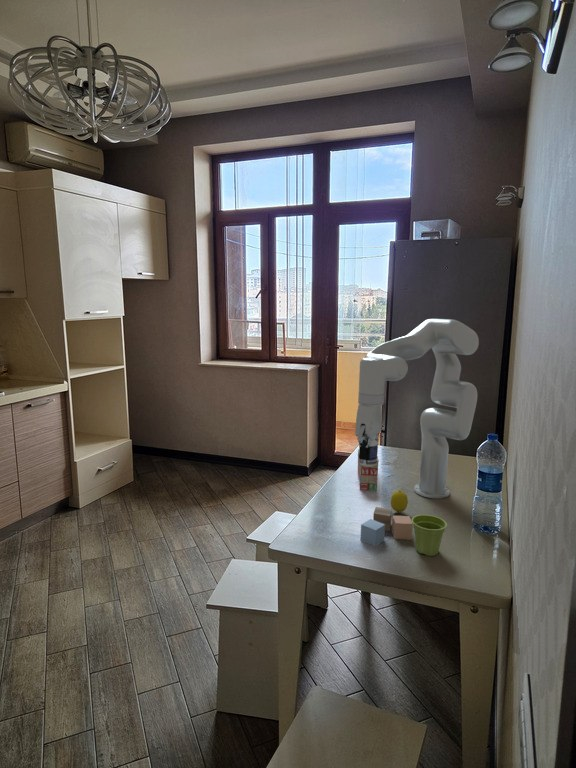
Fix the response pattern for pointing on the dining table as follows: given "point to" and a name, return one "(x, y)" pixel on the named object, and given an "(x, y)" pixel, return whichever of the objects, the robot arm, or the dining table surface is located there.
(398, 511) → the lemon
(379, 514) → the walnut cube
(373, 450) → the pill bottle
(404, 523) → the terracotta cube
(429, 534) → the plant pot
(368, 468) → the stack of blocks
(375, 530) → the slate blue cube
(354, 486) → the dining table surface
